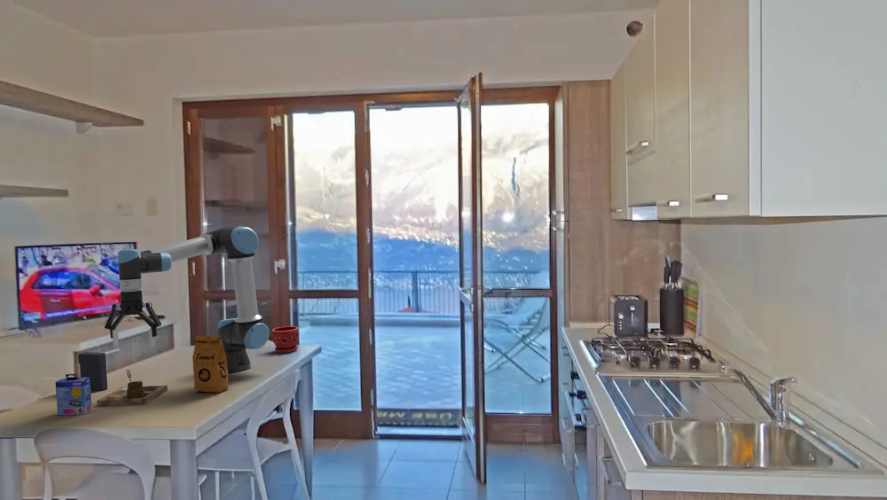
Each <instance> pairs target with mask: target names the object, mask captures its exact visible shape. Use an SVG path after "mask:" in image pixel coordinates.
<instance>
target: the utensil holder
mask: <svg viewBox="0 0 887 500" xmlns="http://www.w3.org/2000/svg"><path fill="white" fill-rule="evenodd" d="M125 372H126V375H127V378H128V379H129V382H128V383H127V386H126V387H128V389H127V399H136V398H143V397H144V387H143V386H144V385H143V381H141V379H138V380H136V378H137V377H136V376H133V378H134V381H132V379H131V377H132V373H131V370H130V368H128V369H126V370H125ZM138 375H142V373H140V372H138Z"/></svg>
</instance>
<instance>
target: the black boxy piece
mask: <svg viewBox="0 0 887 500" xmlns="http://www.w3.org/2000/svg"><path fill="white" fill-rule="evenodd" d="M106 356H107V355H106V352H94V351H93V352H91V351H89V352H88V351H86V352H80V353H78V355H77V362H78V364H79V370H80V371H79V373H80V378H83V377H89V378H90V388H91V391H97V392H102V391H105V390H107V389H108V385H109V384H108V373H107V372H108V370H107V368H108V367H107V357H106Z"/></svg>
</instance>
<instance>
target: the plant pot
mask: <svg viewBox="0 0 887 500" xmlns="http://www.w3.org/2000/svg"><path fill="white" fill-rule="evenodd" d="M271 334H272V340H273V344H274V346H275V348H274V350H275V352H277V353H278V354H279V353H281V354H287V353H293V352H295V351H297V350H298V349H299V346H298V345H297V344H298V342H299V336H300V335H299V327H298V326H291V325H290V326H288V325H287V326H280V327H279V326H277V327H275V328H272V331H271Z"/></svg>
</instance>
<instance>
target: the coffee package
mask: <svg viewBox="0 0 887 500" xmlns="http://www.w3.org/2000/svg"><path fill="white" fill-rule="evenodd" d="M194 340H195V345H194V348H193V353H192V368H193V370H192V371H193V378H194V381H193V382H194V383H193V386H194V392H200V393H201V392H202V393H213V394H214V393H218V394H220V393H223V392H225V391H228V390H229V372H228V369H227V362H226V354H225V351H224V348H223V343H222V341H221V338H220V336H217V335H216V336H210V335H209V336H208V335H207V336H206V335H196V336H195V337H194Z"/></svg>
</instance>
